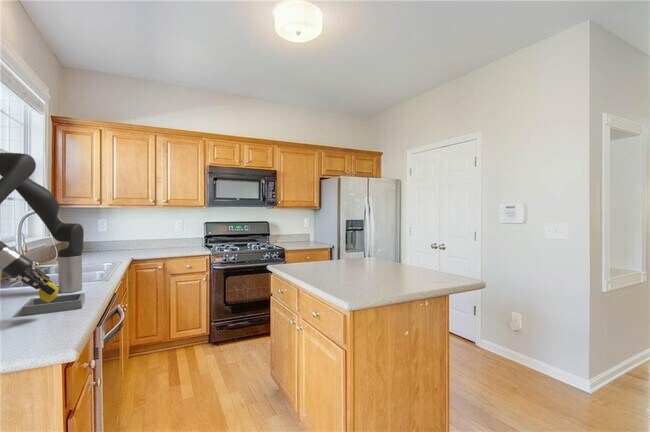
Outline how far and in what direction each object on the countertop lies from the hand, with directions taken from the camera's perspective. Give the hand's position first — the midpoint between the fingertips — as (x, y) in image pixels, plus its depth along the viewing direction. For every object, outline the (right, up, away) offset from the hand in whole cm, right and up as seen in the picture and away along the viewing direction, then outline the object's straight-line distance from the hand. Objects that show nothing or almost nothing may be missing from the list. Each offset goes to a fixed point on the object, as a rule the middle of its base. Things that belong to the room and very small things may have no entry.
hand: (54, 290), depth 121 cm
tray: (-8, -10, +11) cm, 17 cm away
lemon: (-2, -4, -1) cm, 5 cm away
